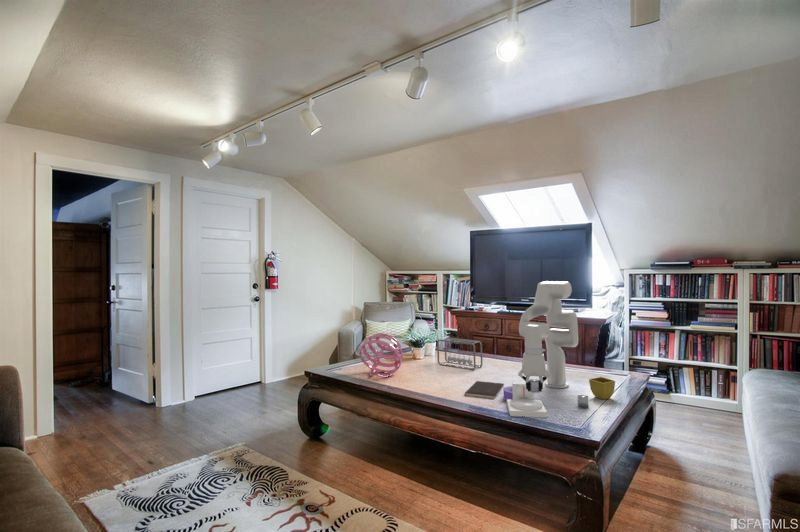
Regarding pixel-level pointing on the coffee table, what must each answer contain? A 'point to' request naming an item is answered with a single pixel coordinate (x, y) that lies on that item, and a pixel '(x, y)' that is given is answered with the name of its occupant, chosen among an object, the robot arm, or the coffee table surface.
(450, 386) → the coffee table surface
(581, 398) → the cylinder
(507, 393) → the tape roll
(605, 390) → the flower pot
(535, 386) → the cylinder
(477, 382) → the hardcover book
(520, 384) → the scale
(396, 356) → the pink openwork sphere sculpture
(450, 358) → the newton's cradle
